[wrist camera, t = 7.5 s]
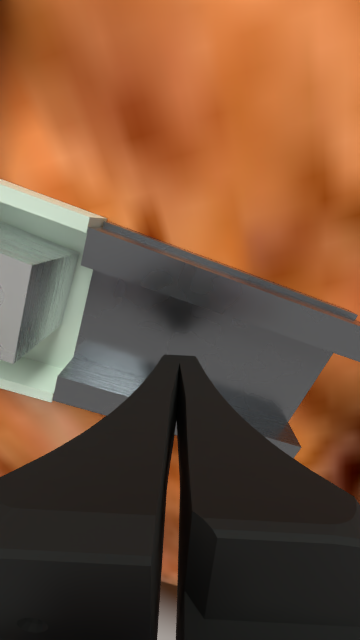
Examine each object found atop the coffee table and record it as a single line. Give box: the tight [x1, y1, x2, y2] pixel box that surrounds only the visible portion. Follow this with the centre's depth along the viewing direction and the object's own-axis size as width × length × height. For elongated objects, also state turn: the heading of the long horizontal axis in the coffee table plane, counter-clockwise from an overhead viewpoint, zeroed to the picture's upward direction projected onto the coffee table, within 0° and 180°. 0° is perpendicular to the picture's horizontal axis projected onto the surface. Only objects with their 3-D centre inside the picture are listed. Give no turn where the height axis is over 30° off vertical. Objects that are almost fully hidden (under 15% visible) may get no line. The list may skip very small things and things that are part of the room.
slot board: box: [53, 221, 360, 458], centre depth 13 cm, size 13×9×3 cm
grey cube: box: [0, 221, 79, 364], centre depth 10 cm, size 4×4×4 cm
